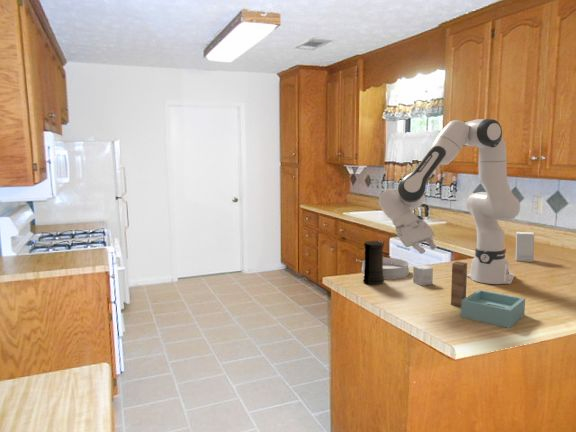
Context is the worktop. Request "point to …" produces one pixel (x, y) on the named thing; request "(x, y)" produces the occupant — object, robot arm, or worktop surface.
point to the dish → (392, 268)
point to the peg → (458, 283)
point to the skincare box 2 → (525, 246)
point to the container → (373, 263)
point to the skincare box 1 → (423, 275)
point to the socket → (493, 308)
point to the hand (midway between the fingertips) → (429, 250)
